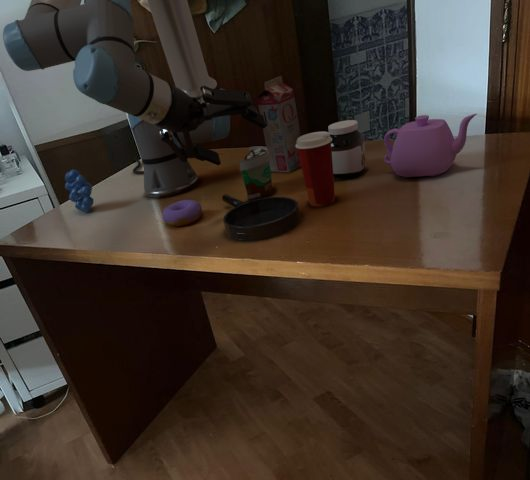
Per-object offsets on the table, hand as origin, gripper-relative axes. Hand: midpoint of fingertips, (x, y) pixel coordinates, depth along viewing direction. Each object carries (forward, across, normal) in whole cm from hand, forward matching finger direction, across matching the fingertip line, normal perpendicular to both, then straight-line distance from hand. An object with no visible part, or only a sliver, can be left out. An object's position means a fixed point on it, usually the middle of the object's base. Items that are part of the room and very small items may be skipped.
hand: (240, 141), depth 111 cm
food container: (+18, -9, -3) cm, 20 cm away
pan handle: (+8, -12, -8) cm, 17 cm away
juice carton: (+32, -9, +10) cm, 35 cm away
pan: (+4, -3, -17) cm, 18 cm away
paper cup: (+16, +6, -14) cm, 22 cm away
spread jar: (+30, +6, -2) cm, 31 cm away
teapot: (+33, +25, -12) cm, 43 cm away
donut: (+2, -23, -6) cm, 24 cm away
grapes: (0, -55, +14) cm, 57 cm away
